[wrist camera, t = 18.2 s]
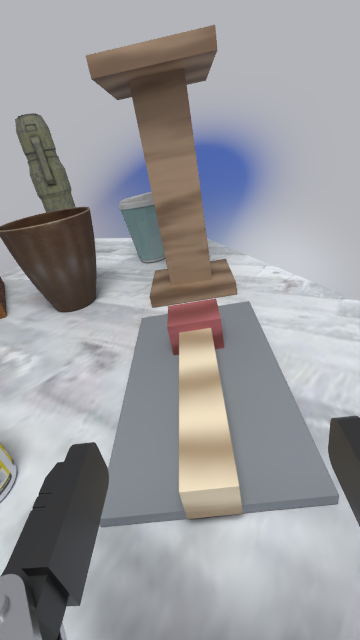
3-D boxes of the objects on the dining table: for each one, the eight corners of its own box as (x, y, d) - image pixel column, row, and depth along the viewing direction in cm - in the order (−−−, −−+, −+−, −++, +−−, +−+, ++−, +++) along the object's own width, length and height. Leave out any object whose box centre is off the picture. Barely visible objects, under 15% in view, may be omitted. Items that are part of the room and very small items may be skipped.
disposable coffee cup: (126, 267, 71) (107, 201, 63) (144, 252, 79) (129, 192, 72) (167, 265, 67) (152, 194, 60) (181, 249, 75) (170, 185, 68)
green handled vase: (65, 264, 82) (7, 113, 65) (59, 256, 92) (8, 122, 75) (96, 255, 85) (48, 108, 68) (87, 248, 95) (44, 117, 78)
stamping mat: (337, 503, 19) (339, 495, 19) (101, 527, 21) (97, 519, 20) (249, 307, 44) (249, 301, 43) (143, 323, 45) (141, 318, 45)
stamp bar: (261, 511, 19) (258, 473, 17) (168, 520, 19) (155, 484, 17) (219, 325, 39) (215, 298, 37) (174, 332, 39) (168, 306, 37)
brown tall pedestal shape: (239, 299, 46) (215, 24, 31) (151, 313, 48) (85, 55, 32) (225, 265, 60) (203, 63, 45) (157, 276, 62) (113, 84, 46)
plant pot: (116, 280, 64) (93, 202, 56) (114, 310, 51) (83, 214, 43) (47, 296, 63) (13, 219, 55) (27, 331, 50) (-21, 236, 42)
